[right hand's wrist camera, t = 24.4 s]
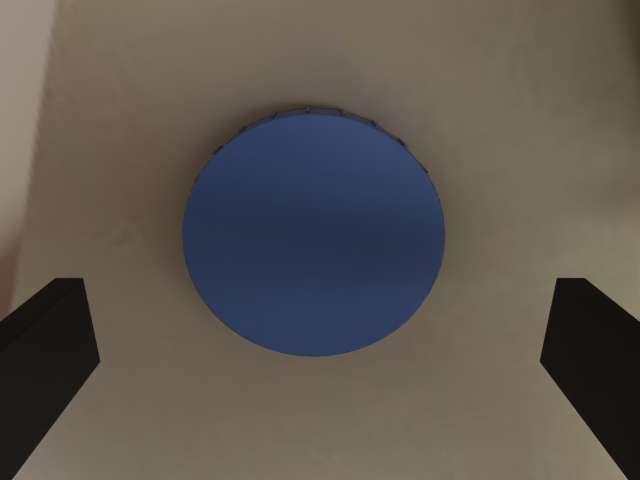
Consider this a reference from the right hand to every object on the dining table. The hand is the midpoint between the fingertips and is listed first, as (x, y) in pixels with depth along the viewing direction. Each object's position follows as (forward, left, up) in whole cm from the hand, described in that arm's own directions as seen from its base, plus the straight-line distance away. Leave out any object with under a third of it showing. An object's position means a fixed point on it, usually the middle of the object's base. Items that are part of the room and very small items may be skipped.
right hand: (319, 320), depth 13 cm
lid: (0, -1, -4) cm, 4 cm away
